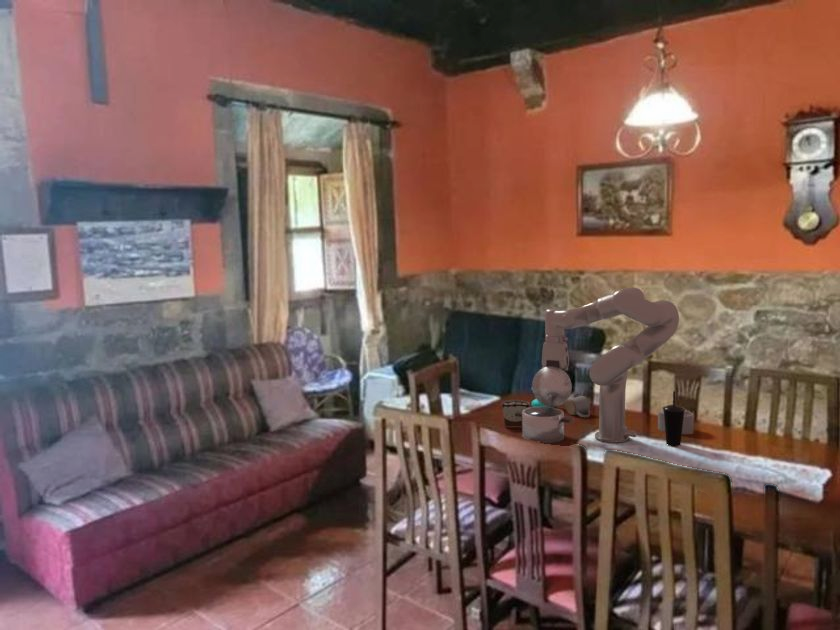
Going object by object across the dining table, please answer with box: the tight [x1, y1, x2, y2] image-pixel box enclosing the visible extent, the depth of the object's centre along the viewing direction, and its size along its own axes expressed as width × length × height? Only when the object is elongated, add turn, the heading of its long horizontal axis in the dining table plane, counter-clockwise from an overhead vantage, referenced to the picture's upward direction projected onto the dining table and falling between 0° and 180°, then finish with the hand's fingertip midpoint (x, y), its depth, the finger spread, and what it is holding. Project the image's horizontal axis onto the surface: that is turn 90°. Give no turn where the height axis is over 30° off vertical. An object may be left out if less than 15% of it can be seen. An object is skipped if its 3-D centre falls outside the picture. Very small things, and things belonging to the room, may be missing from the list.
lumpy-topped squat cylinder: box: [657, 406, 695, 435], centre depth 261 cm, size 10×13×9 cm
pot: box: [515, 406, 573, 444], centre depth 256 cm, size 22×16×10 cm
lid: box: [531, 361, 573, 408], centre depth 264 cm, size 16×18×3 cm
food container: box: [500, 399, 532, 428], centre depth 274 cm, size 12×6×10 cm, turn 84°
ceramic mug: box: [565, 395, 591, 419], centre depth 286 cm, size 11×8×8 cm
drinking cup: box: [662, 390, 686, 447], centre depth 243 cm, size 8×8×20 cm
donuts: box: [531, 389, 549, 407], centre depth 301 cm, size 10×10×10 cm
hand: (555, 384), depth 267 cm, fingers closed
